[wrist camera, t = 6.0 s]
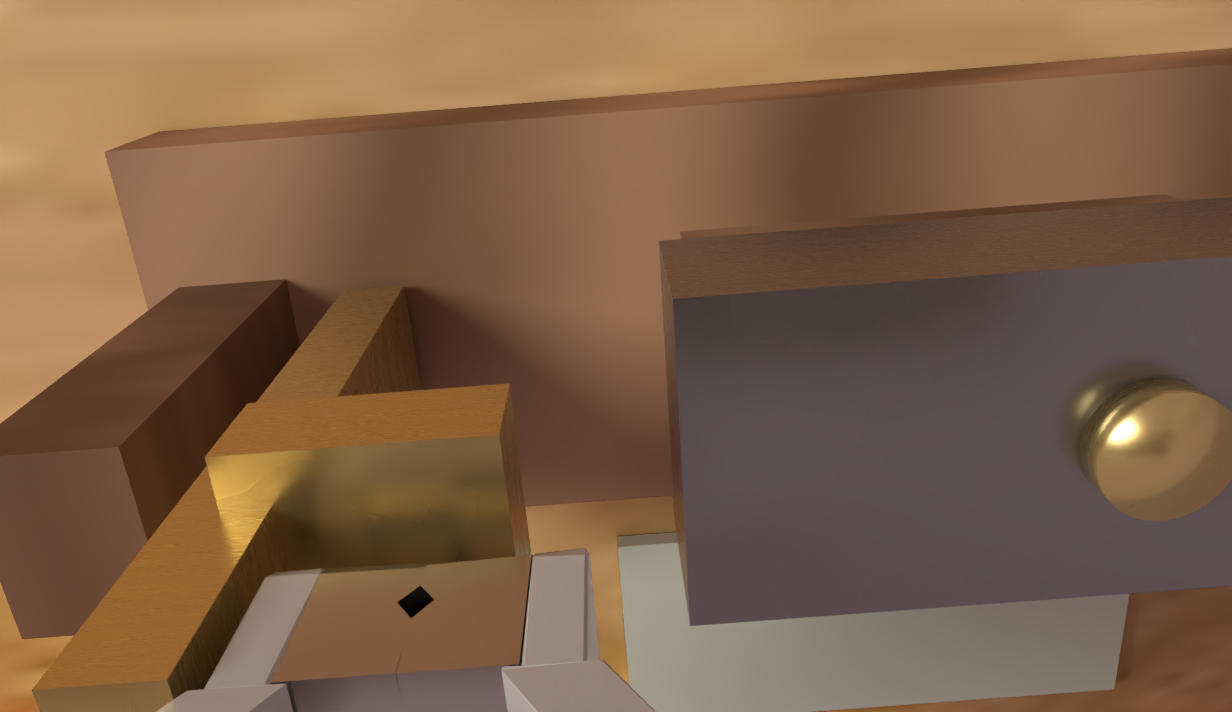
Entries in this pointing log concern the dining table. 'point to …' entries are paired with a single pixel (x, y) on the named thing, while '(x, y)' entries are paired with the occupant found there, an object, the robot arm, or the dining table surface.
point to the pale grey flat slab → (855, 648)
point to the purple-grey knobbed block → (951, 410)
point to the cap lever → (304, 505)
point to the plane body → (532, 262)
